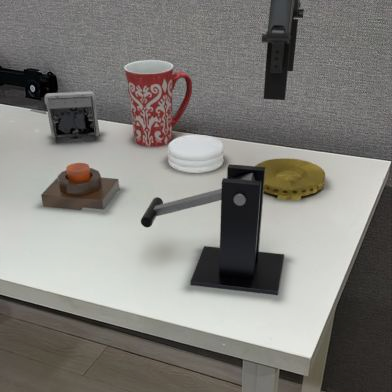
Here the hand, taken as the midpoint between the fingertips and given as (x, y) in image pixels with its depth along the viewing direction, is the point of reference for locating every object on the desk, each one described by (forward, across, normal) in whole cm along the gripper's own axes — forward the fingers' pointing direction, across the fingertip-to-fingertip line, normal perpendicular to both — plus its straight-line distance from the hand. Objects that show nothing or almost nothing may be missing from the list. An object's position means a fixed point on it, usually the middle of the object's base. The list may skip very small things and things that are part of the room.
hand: (279, 83), depth 77 cm
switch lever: (+9, -21, +7) cm, 24 cm away
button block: (+18, -4, +30) cm, 35 cm away
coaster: (+18, +14, +15) cm, 27 cm away
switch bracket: (+18, -21, +2) cm, 28 cm away
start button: (+14, -4, +30) cm, 33 cm away
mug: (+18, +24, +24) cm, 39 cm away
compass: (+18, +8, -2) cm, 20 cm away
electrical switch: (+18, +20, +40) cm, 48 cm away
